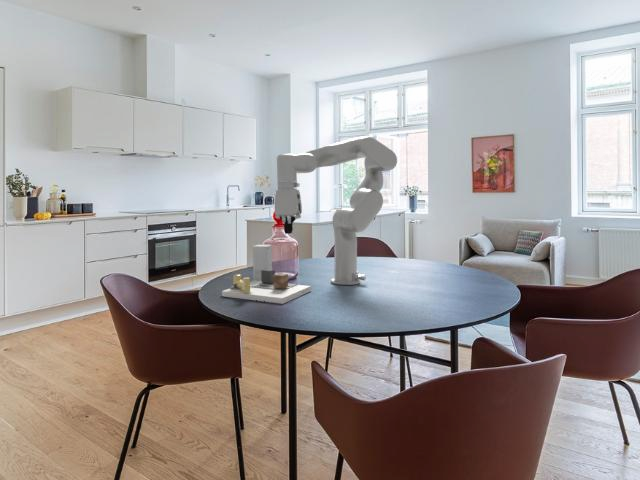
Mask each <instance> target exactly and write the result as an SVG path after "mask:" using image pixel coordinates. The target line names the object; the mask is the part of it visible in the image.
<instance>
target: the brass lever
mask: <svg viewBox="0 0 640 480" xmlns="http://www.w3.org/2000/svg"><path fill="white" fill-rule="evenodd" d="M232 278H233V286H234V287H237V288H239V289H240V290H242V291H243V292H244V293H249V292H250V282H251V278H250V277H249V276H247V277H242V274H239V273H238V274H237V273H236V274H233V277H232Z"/></svg>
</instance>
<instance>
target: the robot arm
mask: <svg viewBox="0 0 640 480" xmlns="http://www.w3.org/2000/svg"><path fill="white" fill-rule="evenodd" d="M362 158H363V159H364V163H363V164H364V169H365V177H364V179H363V180H362V181H361V183H360V185H358V186H357V188H356V190H354V192H353V193H352V195H351V196H350V198H349V205H350V207H351V208H349V207H348V208H347V207H344V208H339V209H337V210H336V211H335V212H334V214H333V216H332V227H333V236H334V255H333V256H334V266H333V267H334V272H333V273H334V275H333V278H331V279H330V283H331V284H333V285H338V286H352V285H353V286H354V285H358V284H360V283H361V281H366V280H367V279H366V275H365V274H360V271H358V268H357V267H358V264H357V263H358V237H357V233H361V232H364V231H365V230H366V229H367V228H368V227H369V226H370V225H371V224H372V222H373V220H374V219H375V218H376V217H377V215H378V214H379V212H380V211H381V209H382V207H383V204H384V197H383V195H382V193H381V191H382V188H383V186H384V175H383V172H389V171H391V170H393V169H395V168H396V166H397V164H398V157H397V155H396V153H395V151H393V150H392V149H390V148H389V147H388V146H387V145H384V143H382V142H380V141H379V140H377V139H375V138H374V137H372V136H369V135H368V136H367V135H365V136H359V137H353V138H349V139H346V140H343V141H340V142H336V143H333V144H329V145H325V146H322V147H318V148H316V149H315V148H314V149H312V150H309V151H305V152H301V153H298V154H292V153H282V154H278V155H277V156H276V169H277V170H276V175H277V176H276V178H277V182H276V183H277V184H276V185H277V189H275V196H274V215H275V218H276V219H279V220H280V221H281V222H282V224H283V231H284V234H285V235H286V234H288V235H290V234H293V230H294V229H293V227H294V226H293V223H294V222H295V221H296V220H298V219H301V218H302V213H303V207H302V198H301V192H300V189H298V188H299V187H300V186H301V183H299V182H298V179H297V178H298V177H297V175H298V174H309V173H312V172H314V171H315V170H316V169H318V168H323V167H333V166H338V165H341V164H344V163H348V162H351V161H354V160H355V161H356V160H357V159H362Z"/></svg>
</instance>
